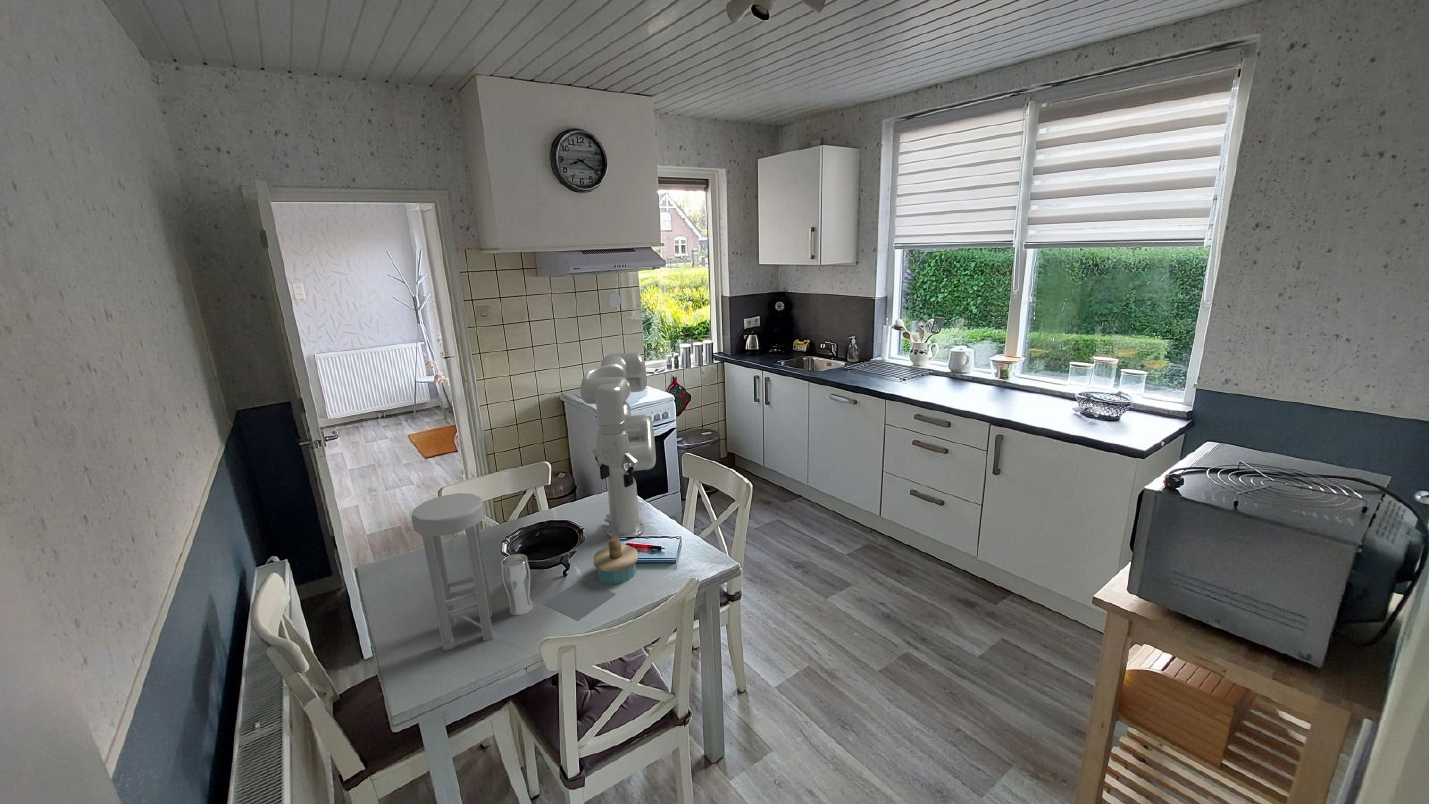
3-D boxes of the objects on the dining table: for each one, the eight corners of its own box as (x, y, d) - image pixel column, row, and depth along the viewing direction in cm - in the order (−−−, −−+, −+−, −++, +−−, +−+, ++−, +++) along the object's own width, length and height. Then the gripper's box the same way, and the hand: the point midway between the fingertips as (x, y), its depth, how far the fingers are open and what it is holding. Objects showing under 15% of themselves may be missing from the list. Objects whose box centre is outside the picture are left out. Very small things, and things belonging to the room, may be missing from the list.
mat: (543, 605, 158) (543, 603, 158) (581, 581, 169) (581, 579, 169) (578, 622, 150) (578, 620, 150) (616, 596, 161) (616, 594, 161)
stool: (501, 641, 144) (481, 512, 135) (433, 658, 139) (407, 525, 130) (500, 607, 158) (482, 488, 149) (438, 621, 153) (415, 499, 144)
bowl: (590, 578, 171) (589, 563, 169) (617, 561, 179) (615, 546, 178) (617, 589, 164) (616, 573, 163) (643, 571, 173) (642, 556, 172)
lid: (584, 563, 169) (582, 544, 168) (615, 544, 179) (613, 526, 178) (616, 576, 162) (614, 556, 160) (647, 555, 172) (645, 536, 170)
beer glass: (527, 599, 161) (520, 550, 158) (539, 609, 157) (532, 559, 153) (503, 610, 157) (495, 560, 153) (515, 621, 152) (507, 570, 148)
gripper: (581, 425, 168) (587, 479, 173) (624, 437, 158) (629, 493, 163) (600, 418, 173) (605, 470, 179) (643, 428, 163) (647, 483, 169)
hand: (616, 481), depth 171 cm, fingers open, 9 cm apart
